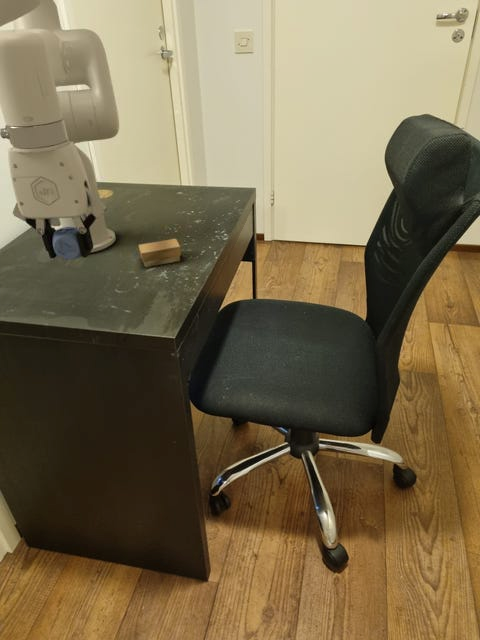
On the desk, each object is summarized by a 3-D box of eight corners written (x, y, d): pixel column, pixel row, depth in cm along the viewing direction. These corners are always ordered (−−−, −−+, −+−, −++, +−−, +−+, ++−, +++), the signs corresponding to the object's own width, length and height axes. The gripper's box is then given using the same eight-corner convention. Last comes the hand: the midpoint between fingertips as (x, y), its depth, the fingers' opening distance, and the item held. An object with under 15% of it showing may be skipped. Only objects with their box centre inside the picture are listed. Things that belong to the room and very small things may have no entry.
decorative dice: (82, 258, 75) (76, 235, 72) (57, 260, 74) (50, 237, 72) (87, 248, 78) (81, 225, 76) (62, 250, 78) (56, 227, 75)
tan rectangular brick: (143, 268, 96) (141, 253, 94) (141, 259, 100) (138, 244, 98) (182, 261, 98) (180, 246, 96) (178, 252, 102) (176, 238, 100)
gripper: (-33, 144, 63) (10, 266, 73) (89, 139, 62) (116, 263, 72) (-7, 132, 69) (30, 246, 79) (105, 127, 68) (128, 243, 78)
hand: (71, 253), depth 76 cm, fingers closed on decorative dice, 4 cm apart
